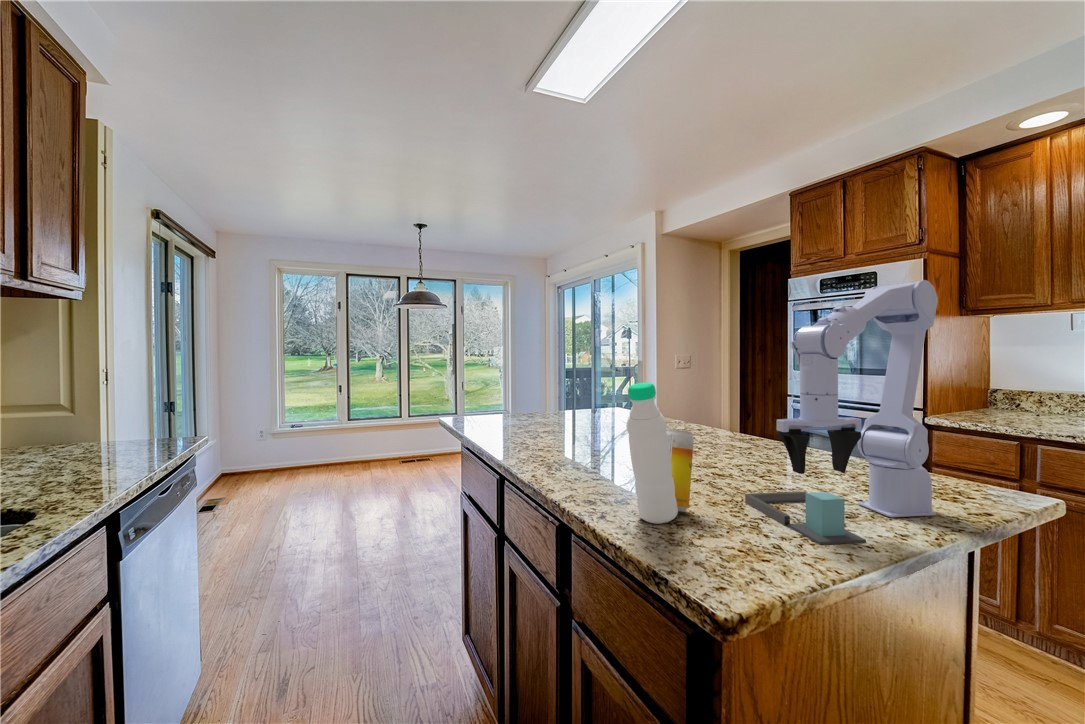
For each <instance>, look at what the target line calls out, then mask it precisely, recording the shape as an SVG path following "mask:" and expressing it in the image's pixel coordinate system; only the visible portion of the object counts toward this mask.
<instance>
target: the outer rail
mask: <svg viewBox="0 0 1085 724" xmlns="http://www.w3.org/2000/svg"><path fill="white" fill-rule="evenodd" d="M806 493H809V492H808V491H784V492H783V491H782V492H781V491H779V492H757V493H755V492H754V493H752V492H751V493H750V492H749V493H745V495H744V496H745V499H744V503H745V504H746V505H748V506H750V507H752V508H754V509H755V510H757V511H758V512H760V513H762V514H764V515H765V516H767V517H768V518H770V519H772V520H774V521H776V522H777V523H779V524H781V525H783V526H784V527H785V526H786V527H788V524H791V516H790V515H789V514H787V513H785V512H783V511H782V510H779V509H778V508H776V507H774V506H773V505H771V504H770V503H773V504H774V503H790V502H791V503H794V502H795V503H797V502H806Z"/></svg>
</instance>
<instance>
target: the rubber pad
mask: <svg viewBox="0 0 1085 724" xmlns="http://www.w3.org/2000/svg"><path fill="white" fill-rule="evenodd" d="M787 527H789V528H790V529H792V530H794V531H795V532H797V533H799V534H801V535H802V536H804V537H806V538H807V539H809V540H811V541H813V542H814V543H816V544H818V545H837V544H841V543H842V544H856V543H857V544H858V543H867V539H865V538H863V537H862V536H859V535H857V534H855V533H853V532H851V531H849V530H847V529H845V535H838V536H820V535H819V534H817V533H815V532H813V531H811V530H810V529H808V528H806V522H805V523H804V522H802V523H790V524H788V526H787Z"/></svg>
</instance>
